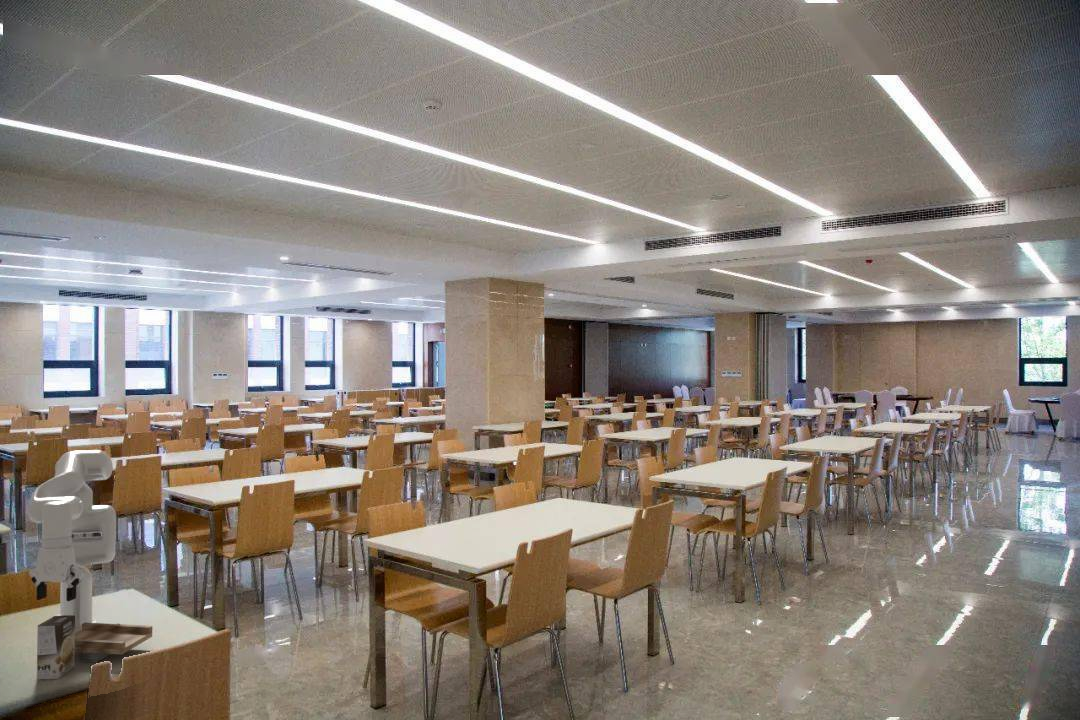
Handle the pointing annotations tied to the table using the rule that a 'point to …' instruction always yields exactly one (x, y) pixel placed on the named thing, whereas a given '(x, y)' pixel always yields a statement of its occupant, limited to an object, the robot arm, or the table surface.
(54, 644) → the coffee box
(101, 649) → the brown wooden tray
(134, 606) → the table surface
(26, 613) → the table surface
